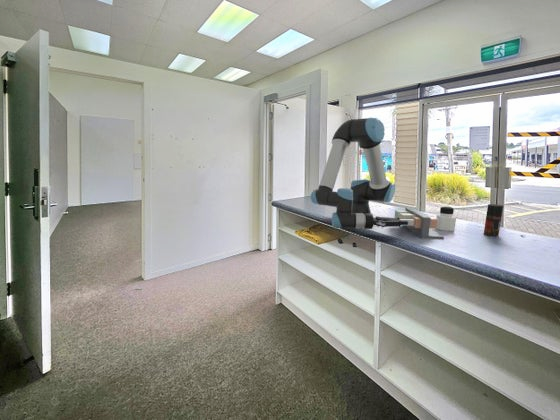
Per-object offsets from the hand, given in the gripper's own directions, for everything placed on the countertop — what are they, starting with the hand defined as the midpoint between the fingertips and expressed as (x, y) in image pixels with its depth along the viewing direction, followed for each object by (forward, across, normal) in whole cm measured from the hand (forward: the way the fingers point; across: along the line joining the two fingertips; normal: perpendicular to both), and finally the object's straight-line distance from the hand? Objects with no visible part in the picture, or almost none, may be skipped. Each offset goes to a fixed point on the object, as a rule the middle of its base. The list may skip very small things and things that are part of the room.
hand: (413, 222), depth 138 cm
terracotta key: (+5, 0, -2) cm, 6 cm away
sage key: (+1, -16, -2) cm, 16 cm away
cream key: (+1, -8, -2) cm, 9 cm away
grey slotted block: (+8, -8, -7) cm, 13 cm away
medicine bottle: (+21, -14, -7) cm, 27 cm away
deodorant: (+39, -5, -7) cm, 40 cm away
